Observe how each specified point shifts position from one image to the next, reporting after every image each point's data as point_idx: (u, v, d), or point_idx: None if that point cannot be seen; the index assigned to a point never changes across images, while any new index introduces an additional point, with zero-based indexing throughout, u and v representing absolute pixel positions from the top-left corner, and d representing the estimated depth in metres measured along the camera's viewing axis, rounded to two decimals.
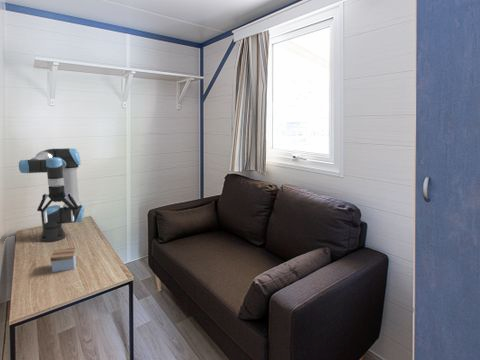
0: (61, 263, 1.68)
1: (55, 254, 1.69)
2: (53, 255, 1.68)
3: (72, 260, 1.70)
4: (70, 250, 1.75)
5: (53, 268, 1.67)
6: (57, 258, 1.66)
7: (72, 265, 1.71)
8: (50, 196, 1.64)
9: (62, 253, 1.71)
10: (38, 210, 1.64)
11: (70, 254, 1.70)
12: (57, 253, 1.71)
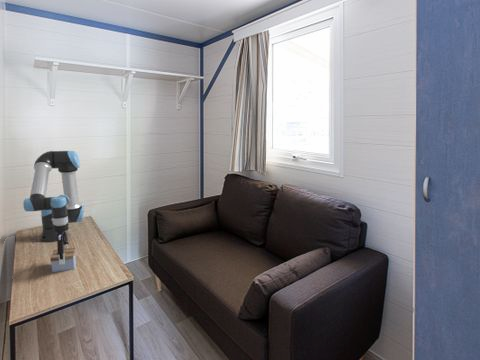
0: None
1: (55, 254, 1.69)
2: (53, 255, 1.68)
3: (72, 260, 1.70)
4: (70, 250, 1.75)
5: (53, 268, 1.67)
6: (57, 258, 1.66)
7: (72, 265, 1.71)
8: None
9: None
10: None
11: (70, 254, 1.70)
12: None
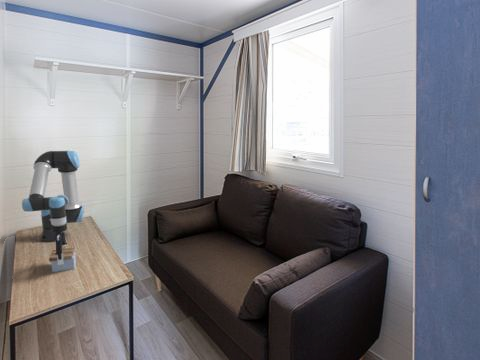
0: None
1: (53, 254, 1.69)
2: (52, 255, 1.68)
3: (72, 260, 1.70)
4: (69, 250, 1.75)
5: (53, 268, 1.67)
6: (56, 258, 1.66)
7: (72, 265, 1.71)
8: None
9: None
10: None
11: (69, 254, 1.70)
12: None
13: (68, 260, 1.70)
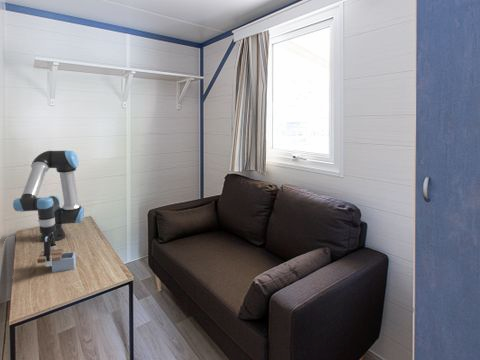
0: (61, 263, 1.68)
1: (42, 256, 1.67)
2: (40, 257, 1.66)
3: (72, 260, 1.70)
4: (58, 251, 1.73)
5: (53, 268, 1.67)
6: (44, 260, 1.64)
7: (72, 265, 1.71)
8: None
9: None
10: None
11: (57, 255, 1.68)
12: None
13: (68, 260, 1.70)
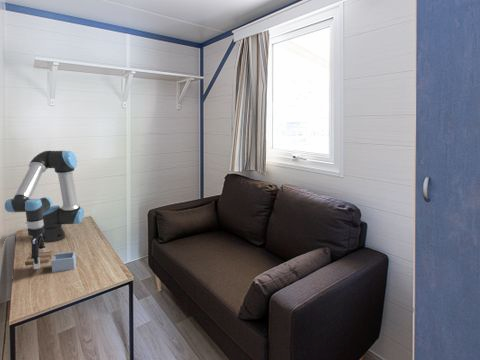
0: (61, 263, 1.68)
1: (30, 258, 1.65)
2: (28, 259, 1.64)
3: (72, 260, 1.70)
4: (47, 254, 1.71)
5: (53, 268, 1.67)
6: (32, 262, 1.62)
7: (72, 265, 1.71)
8: None
9: None
10: None
11: (46, 258, 1.65)
12: None
13: (68, 260, 1.70)
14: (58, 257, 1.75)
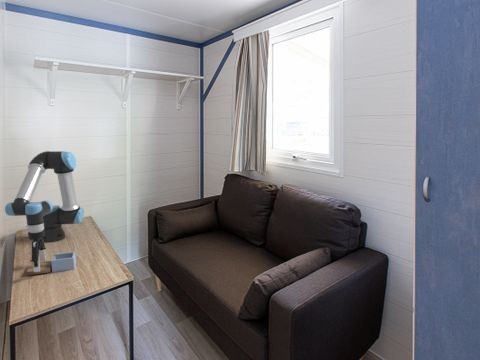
0: (61, 263, 1.68)
1: (31, 268, 1.66)
2: (29, 269, 1.65)
3: (72, 260, 1.70)
4: (48, 263, 1.72)
5: (53, 268, 1.67)
6: (33, 272, 1.63)
7: (72, 265, 1.71)
8: None
9: None
10: None
11: (47, 268, 1.67)
12: None
13: (68, 260, 1.70)
14: (58, 257, 1.75)
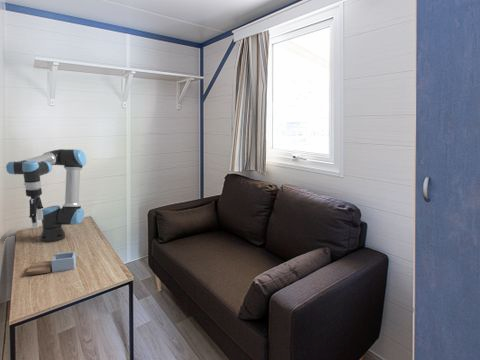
0: (61, 263, 1.68)
1: (31, 268, 1.66)
2: (29, 269, 1.65)
3: (72, 260, 1.70)
4: (48, 263, 1.72)
5: (53, 268, 1.67)
6: (33, 272, 1.63)
7: (72, 265, 1.71)
8: None
9: (39, 266, 1.68)
10: (37, 206, 1.80)
11: (47, 268, 1.67)
12: (34, 266, 1.68)
13: (68, 260, 1.70)
14: (58, 257, 1.75)
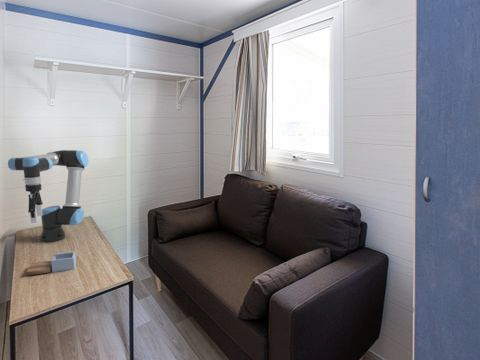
0: (61, 263, 1.68)
1: (31, 268, 1.66)
2: (29, 269, 1.65)
3: (72, 260, 1.70)
4: (48, 263, 1.72)
5: (53, 268, 1.67)
6: (33, 272, 1.63)
7: (72, 265, 1.71)
8: None
9: (39, 266, 1.68)
10: None
11: (47, 268, 1.67)
12: (34, 266, 1.68)
13: (68, 260, 1.70)
14: (58, 257, 1.75)
